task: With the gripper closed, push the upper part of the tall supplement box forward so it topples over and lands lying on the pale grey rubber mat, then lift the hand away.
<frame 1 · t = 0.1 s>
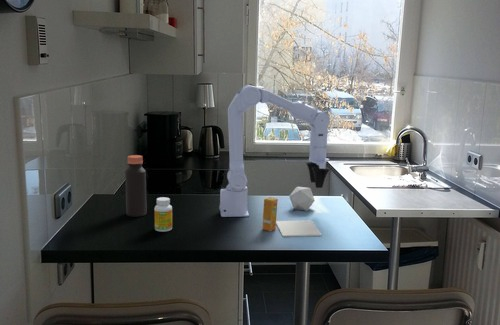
hand: (316, 184, 172), 10 cm above the table, tool pointing down, fingers open, 7 cm apart
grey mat: (297, 228, 157), on the table
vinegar: (136, 214, 169), on the table
die: (301, 209, 179), on the table
supplement bottle: (163, 229, 154), on the table
supplement box: (269, 229, 156), on the table
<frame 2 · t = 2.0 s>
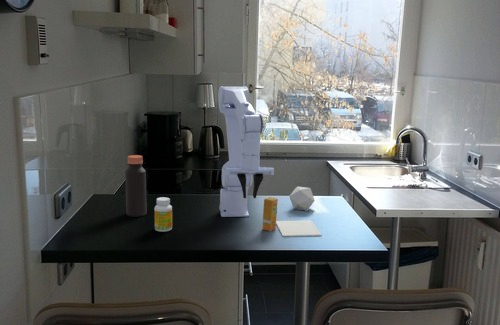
hand: (249, 197, 153), 10 cm above the table, tool pointing down, fingers closed
nothing on the table moved.
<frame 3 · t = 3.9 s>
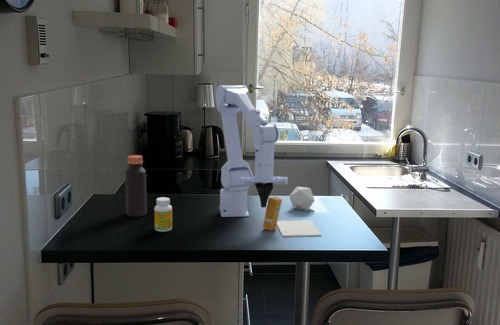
hand: (263, 206, 154), 7 cm above the table, tool pointing down, fingers closed
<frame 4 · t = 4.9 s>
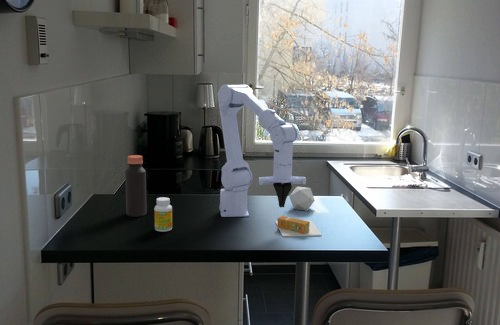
hand: (281, 206, 155), 7 cm above the table, tool pointing down, fingers closed
supplement box: (279, 221, 157), point 2 cm above the table, touching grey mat
everything else where it was.
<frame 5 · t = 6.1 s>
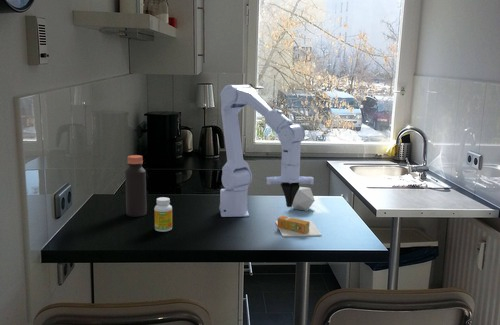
hand: (289, 206, 155), 7 cm above the table, tool pointing down, fingers closed
nothing on the table moved.
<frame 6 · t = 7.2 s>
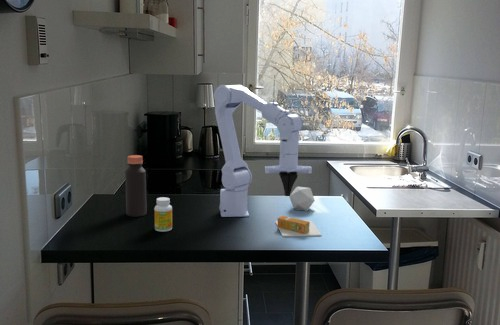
hand: (287, 195, 157), 10 cm above the table, tool pointing down, fingers closed
nothing on the table moved.
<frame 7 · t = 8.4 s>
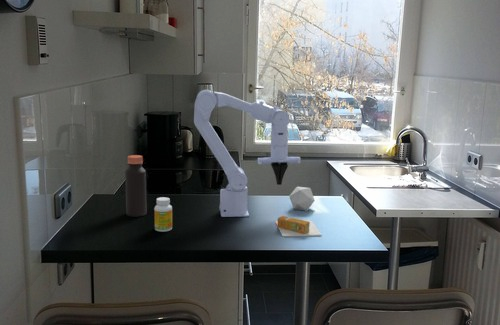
hand: (279, 184, 171), 10 cm above the table, tool pointing down, fingers closed
nothing on the table moved.
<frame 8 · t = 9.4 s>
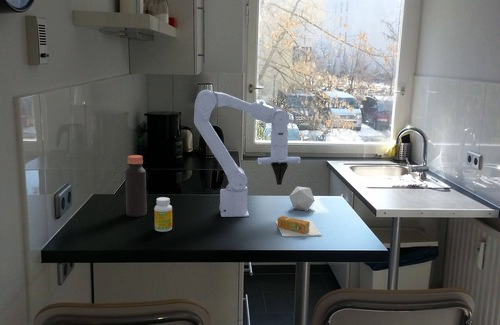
hand: (279, 184, 171), 10 cm above the table, tool pointing down, fingers closed
nothing on the table moved.
at the end: supplement box tilted 89°; supplement box touching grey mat; the gripper is holding nothing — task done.
